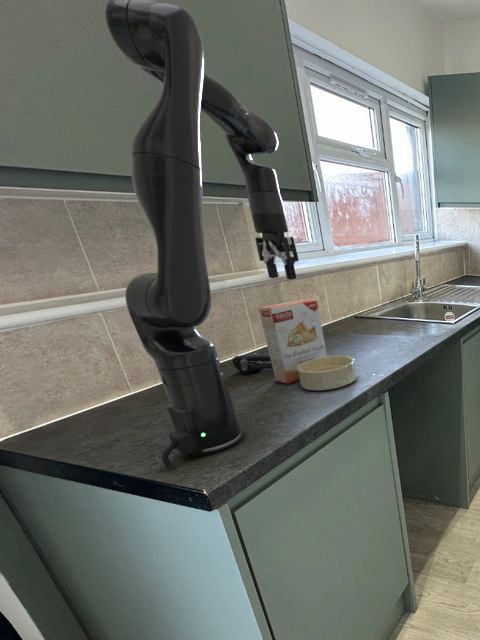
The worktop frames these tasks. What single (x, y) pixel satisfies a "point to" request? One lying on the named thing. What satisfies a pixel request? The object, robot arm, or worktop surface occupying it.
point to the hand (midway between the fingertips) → (282, 278)
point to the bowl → (326, 372)
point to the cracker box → (292, 336)
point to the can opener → (251, 362)
